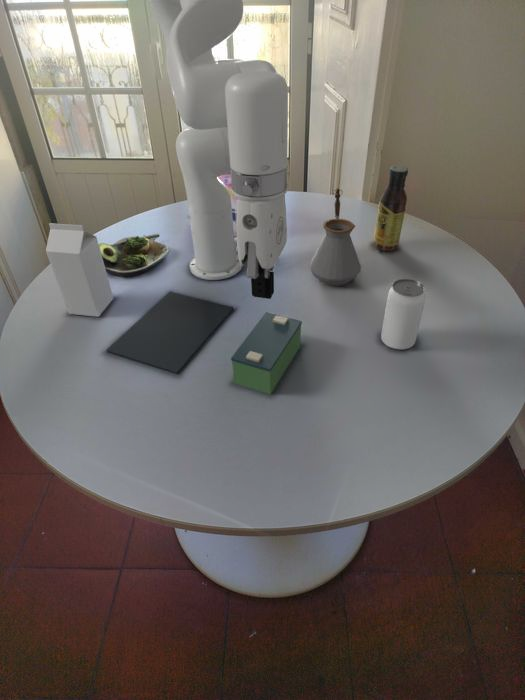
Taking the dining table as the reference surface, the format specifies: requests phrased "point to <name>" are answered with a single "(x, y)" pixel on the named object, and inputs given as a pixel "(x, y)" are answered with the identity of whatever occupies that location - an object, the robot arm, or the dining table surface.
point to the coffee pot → (336, 252)
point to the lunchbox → (266, 352)
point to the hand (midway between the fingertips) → (263, 294)
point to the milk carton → (79, 269)
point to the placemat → (171, 332)
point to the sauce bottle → (391, 210)
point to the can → (403, 314)
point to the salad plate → (132, 255)
